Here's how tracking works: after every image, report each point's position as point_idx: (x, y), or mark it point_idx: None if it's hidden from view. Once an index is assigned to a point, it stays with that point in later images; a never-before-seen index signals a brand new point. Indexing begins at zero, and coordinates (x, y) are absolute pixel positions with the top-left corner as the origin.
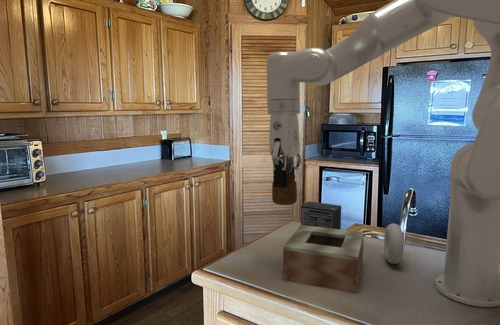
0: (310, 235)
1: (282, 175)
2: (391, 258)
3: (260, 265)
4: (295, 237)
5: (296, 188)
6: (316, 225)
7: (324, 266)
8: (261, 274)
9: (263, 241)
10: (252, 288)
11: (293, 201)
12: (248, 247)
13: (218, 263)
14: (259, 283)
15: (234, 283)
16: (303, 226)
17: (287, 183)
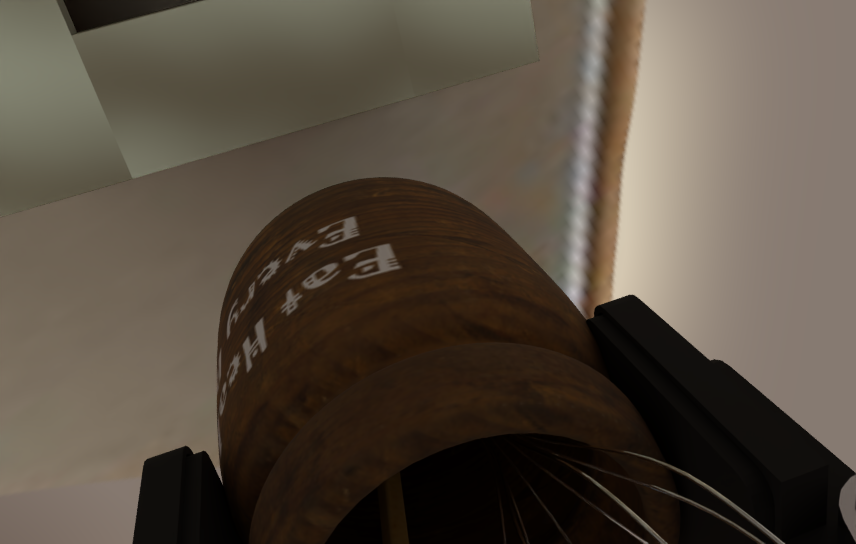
0: (152, 13)
1: (810, 439)
2: None
3: None
4: (321, 83)
5: (369, 247)
6: None
7: None
8: (469, 171)
9: (61, 450)
10: (617, 116)
11: (420, 182)
12: (214, 447)
13: None
14: (558, 119)
15: (615, 215)
16: (9, 175)
17: (626, 324)
